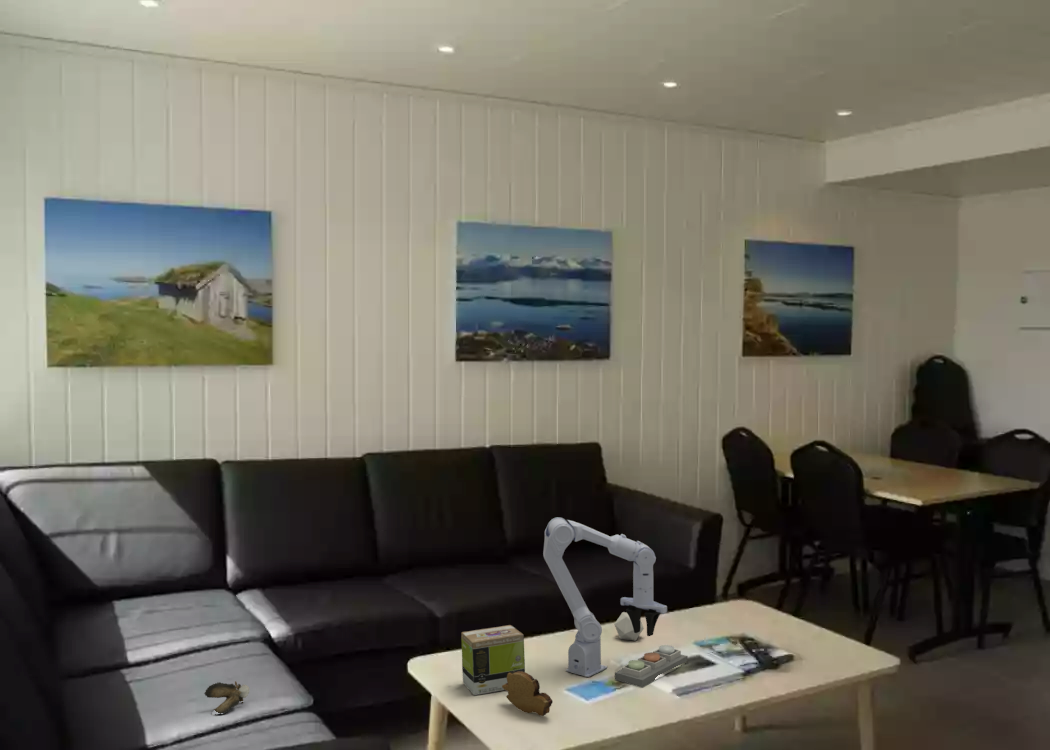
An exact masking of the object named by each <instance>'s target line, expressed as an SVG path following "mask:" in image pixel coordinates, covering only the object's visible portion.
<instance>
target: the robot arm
mask: <svg viewBox="0 0 1050 750" xmlns="http://www.w3.org/2000/svg"><path fill="white" fill-rule="evenodd" d="M581 540H585V541H588V542H591V543H594V544H596V545H598V546H599V545H600V546H603V547H605V548H607V550H608V552H609V554H611V555H613V556H615V557H617V558H618V557H619V558H621V559H624V560H627V561H628V562H633V572H632V577H633V578H632V580H633V581H632V583H633V585H632V586H633V587H632V589H633V590H632V591H633V595H632V596H633V597H626V596H624V597H623V596H622V597H621V598H620V606H627V608H626V609H625V611H626V613H627V614H628V615H629V617H630V620H631V622H632V625H633V629H634V633H638V632H640V620H641V619H642V610H645V611H646V612H644V617H645V621H646V635H647V637H651V636H653V635H654V633H655V627H656V624H657V621H658V619H659V617H660V615H664V614H666V613H668V606H667V605H665V604H662V603H659V602H657V601H654V564H655V563H656V559H657V557H656V554H655V552H654V550H653V549H652V548H650V546H648V545H647V544H645V543H643V542H641V541H639V540H636V541H635V540H632V539H630V538H627V536H626V535H625V534H623V533H621V534H620V535H619V534H615V535H611V536H609V535H608V534H605V533H603V532H601V531H598V530H596V529H594V528H592V527H589V526H587V525H585V524H582V523H580V522H576V521H574V520H570V519H565V518H563V517H554V518H551V520H550V521H549V522H548V523H547V526H546V528H545V530H544V542H543V551H542V552H543V553H542V554H543V555H542V556H543V559H544V561H545V562H546V565H547V566H548V568H549V570H550V572H551V574H552V576H553V578H554V580H555V582H556V584H557V586H558V588H559V590H560V592H561V594H562V596H563V598H564V600H565V602H566V603H567V606H568V607H569V609H570V612H571V614H572V616H573V619H574V627H575V629H576V630H577V632H576V633H575V637H574V638H575V639H574V642H573V643H571V644H570V646H569V648H568V652H567V653H568V654H567V656H568V659H567V662H568V668H566V669H565V671H566V672H568V673H571V674H576V675H579V676H582V677H586V678H590V677H592V676H594V675H596V674H598V673H600V672H602V671H604V670H606V669H607V668H608V666H607V665H603V664H602V659H601V658H602V655H601V654H602V653H601V652H602V650H601V649H602V648H601V647H602V646H601V645H602V644H601V641H602V639H601V637H602V633H603V629H602V624H600V622H599V621H598V620H597V619H596V616H595V615H594V613H593V612H591V611H590V609H589V608H588V606H587V604H586V601H584V598H583V597H582V594H581V592H580V591H579V589H578V587H577V585H576V583H575V580H574V579H573V577H572V575H571V573H570V570H569V569H568V567H567V565H566V563H565V561H564V559H563V556H564V552H566V551H565V550H566V549H567V548H568V546H570V544H571V543H572V541H574V542H576V543H577V542H579V541H581Z"/></svg>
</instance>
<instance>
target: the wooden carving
mask: <svg viewBox="0 0 1050 750" xmlns="http://www.w3.org/2000/svg"><path fill="white" fill-rule="evenodd" d="M507 682H508V683H506V684H504V685H502V688H503V689H504V690H503V691H507V695H506V696H505V697H506V699H507V700H508V701H509V702H510V703H511V705H513V706H514V707H515V708H516V709H518V710H519V711H521V712H523V713H525V714H532V713H535V714H536V715H538V716H539V717H545V716H546V715H547V714H549V713H550V708H551V707H552V704H553V699H552V698H551V696H549V694H548V693H546V692H540V688H541V686H540V683H539V680H538V679H537V678H534V677H533V676H532V675H531V674H530V673H528V672H526V671H525V672H522V671H518V672H515V671H513V672H511V673H508V674H507Z"/></svg>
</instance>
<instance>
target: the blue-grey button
mask: <svg viewBox="0 0 1050 750" xmlns="http://www.w3.org/2000/svg"><path fill="white" fill-rule="evenodd" d="M658 649H659V653H663V654H667V655H671V654H673V653H675V652H674V649H675V647H674V646H673V645H669V644H664V645H660V646H658Z"/></svg>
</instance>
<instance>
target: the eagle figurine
mask: <svg viewBox="0 0 1050 750" xmlns="http://www.w3.org/2000/svg"><path fill="white" fill-rule="evenodd" d="M250 690H251V689H250V687H249V686H248V685H246V684H242V685H241V684H240V683H238V682H237V680H236V681H234V683H223V682H215V683H212V684H211V685H208V687H206V689H205V692H204V693H203V694H204V695H205V697H206V698H209V699H210V698H211V699H212V698H214V699H215V698H216V699H219V698H220V699H221V698H225V700H224V701H223V702H221V703H220V704H219V705H218V706H217V707H215V708H214V709H213V710H215V711H216V712H218V713H224V714H226V713H228V712H229V711H230V710H232V708H234V707H236V706H238V705H239V704H240V703H241V701H244V699H247V697H248V696H249V694H250Z"/></svg>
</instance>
